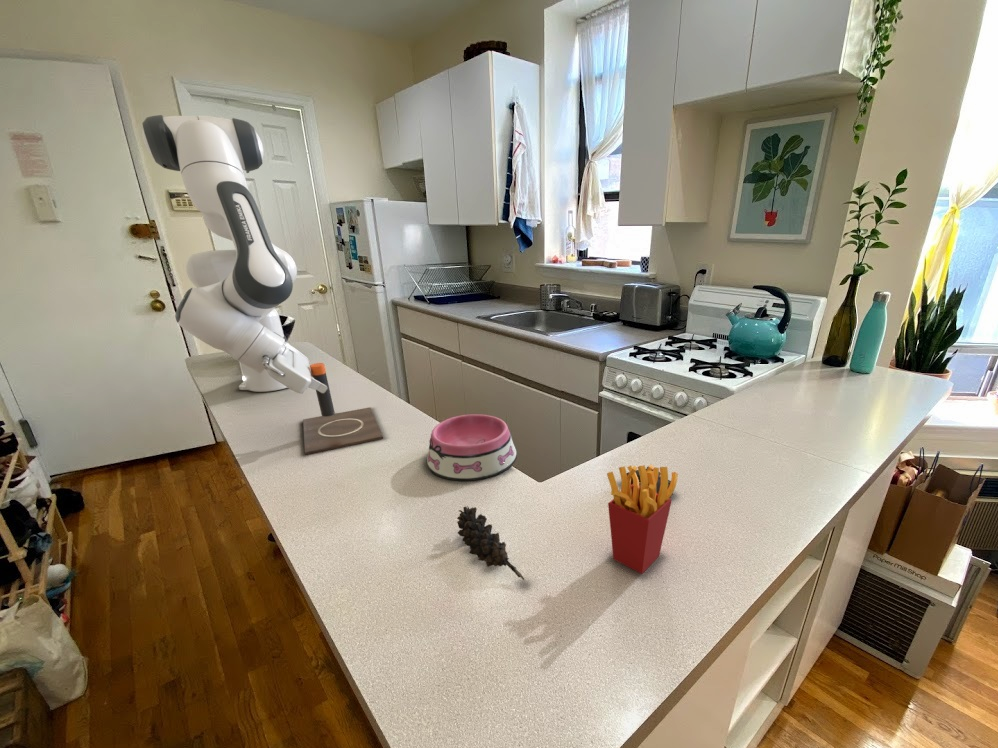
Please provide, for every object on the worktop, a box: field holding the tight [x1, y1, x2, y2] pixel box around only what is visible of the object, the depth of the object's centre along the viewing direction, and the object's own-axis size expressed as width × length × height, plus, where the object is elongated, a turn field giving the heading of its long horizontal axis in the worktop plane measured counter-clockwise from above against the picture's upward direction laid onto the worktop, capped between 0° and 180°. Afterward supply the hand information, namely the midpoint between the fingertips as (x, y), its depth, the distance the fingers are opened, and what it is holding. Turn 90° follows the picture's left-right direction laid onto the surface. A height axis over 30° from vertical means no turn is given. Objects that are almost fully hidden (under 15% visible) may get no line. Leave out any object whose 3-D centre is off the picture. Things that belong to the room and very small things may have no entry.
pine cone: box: [456, 505, 525, 581], centre depth 67 cm, size 18×5×5 cm, turn 34°
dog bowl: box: [426, 413, 518, 482], centre depth 95 cm, size 18×19×7 cm
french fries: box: [606, 464, 678, 575], centre depth 66 cm, size 9×8×15 cm
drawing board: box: [302, 406, 384, 456], centre depth 110 cm, size 20×16×1 cm
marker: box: [309, 362, 336, 417], centre depth 105 cm, size 3×3×12 cm
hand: (325, 387), depth 105 cm, fingers closed on marker, 3 cm apart
